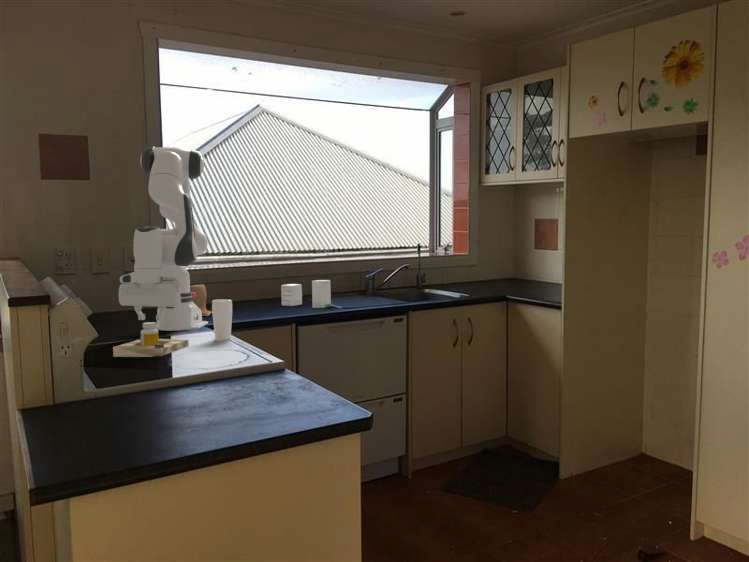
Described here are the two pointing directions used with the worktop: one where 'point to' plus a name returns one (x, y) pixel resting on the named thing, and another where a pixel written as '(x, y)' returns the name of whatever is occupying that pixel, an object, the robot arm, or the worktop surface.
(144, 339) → the supplement bottle
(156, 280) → the robot arm
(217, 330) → the drinking glass
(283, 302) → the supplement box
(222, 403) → the worktop surface
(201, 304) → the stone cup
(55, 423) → the worktop surface
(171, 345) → the cream square tray
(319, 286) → the skincare box
